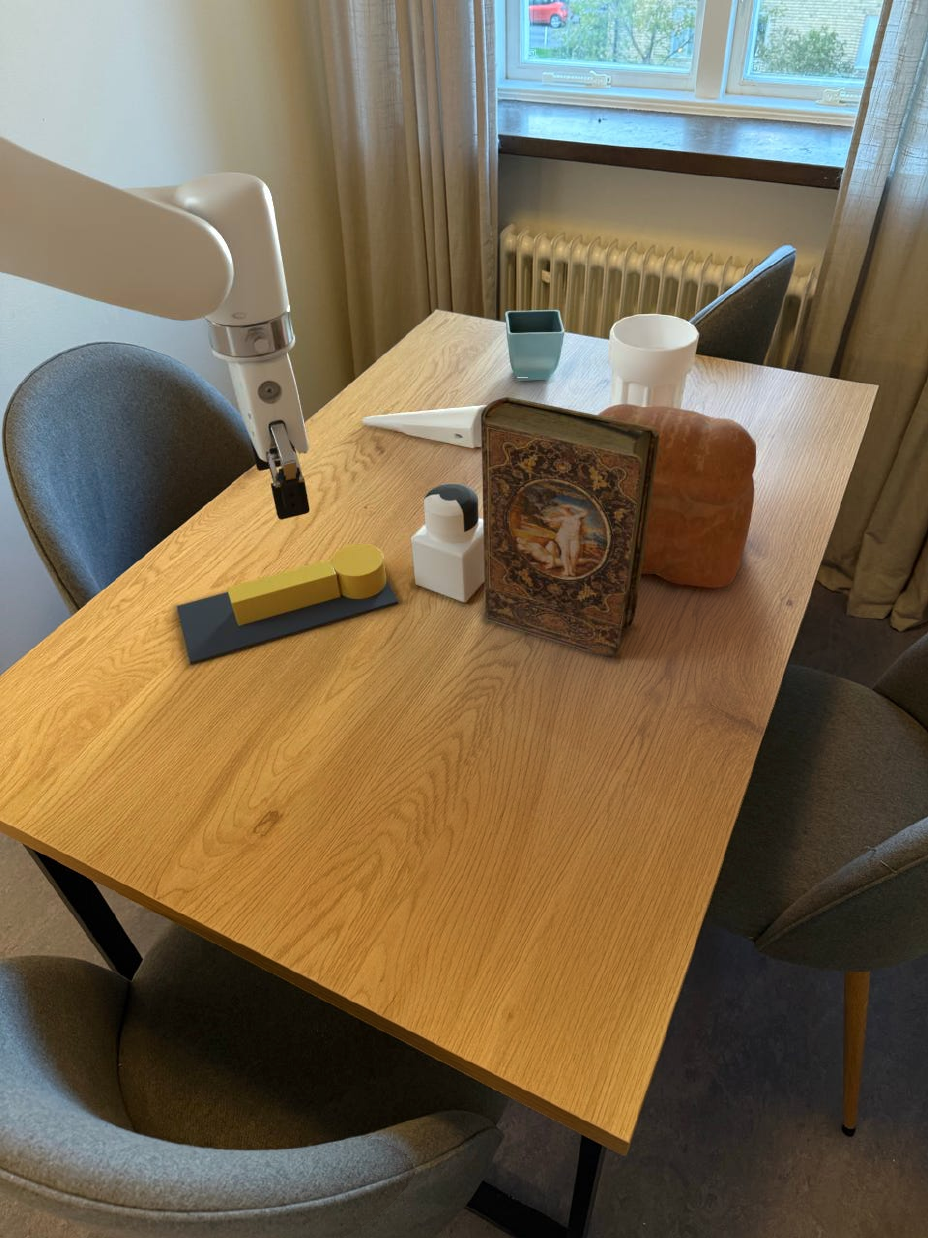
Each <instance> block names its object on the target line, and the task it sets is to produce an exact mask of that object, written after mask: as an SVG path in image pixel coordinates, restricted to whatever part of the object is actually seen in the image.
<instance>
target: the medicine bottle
mask: <svg viewBox="0 0 928 1238" xmlns="http://www.w3.org/2000/svg"><path fill="white" fill-rule="evenodd" d="M423 510H424V521H425V523H424V524H423V525H422V526H421V527H420V528H419V529H418V530H417V531H416V532H415V533H414V534H413V535H412V536H411V538H410V545H411V556H412V565H413V576H414V583H415V585H416V586H418V587H421V588H424V589H427V590H428V591H432V592H435V593H437V594H440V595H442V596H444V597H447V598H450V599H453V600H456V601H458V602H462V603H466V602H468V601H469V600H470V598H472V596H473V595H474V594H475V593H476V592H477V591H478V590H479V588H480V587H481V586H482V585H483V584H484V583H485V575H484V530H483V518H480V515H479V514H480V513H479V512H480V511H479V496H478V494H477V493H476V491H474V489H472V488H471V487H469V486H467V485H465V484H461V483H454V482H453V483H452V482H451V483H443V484H439V485H437V486H435V487H433V488H432V489H430V490H429V491H428V492H427V493H426V494H425V496H424V497H423Z"/></svg>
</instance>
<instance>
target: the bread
mask: <svg viewBox="0 0 928 1238" xmlns="http://www.w3.org/2000/svg"><path fill="white" fill-rule="evenodd" d="M597 415H598V416H603V417H608V418H613V419H617V420H622V421H627V422H632V423H637V424H642V425H647V426H652V427H655V428H656V429H657V430H658V432H659V445H658V453H657V460H656V467H655V475H654V482H653V489H652V497H651V504H650V511H649V519H648V526H647V533H646V541H645V548H644V555H643V563H642V570H641V575H657V576H658V577H660V578H662V579H664V580H665V581H667V582H669V583H670V584H671V583H672V584H679V585H686V586H693V587H702V588H709V589H716V588H721V587H725V586H729V585H730V584H731V583H732V582H733V581H734V579H735V577H736V574H737V572H738V569H739V567H740V564H741V561H742V559H743V555H744V552H745V547H746V543H747V539H748V535H749V530H750V527H751V522H752V516H753V510H754V509H753V508H754V502H755V501H754V500H755V480H754V476H753V475H754V472H755V469H756V466H757V444H756V441H755V440H754V438H753V436H752V435H751V433H749V432H748V430H747V429H746V428H744V427H743V426H742V424H740V423H738V422H736V421H735V420H733V419H730V418H723V417H713V416H709V415H706V414H704V413H700V412H697V411H695V410H688V409H683V408H680V409H677V408H671V407H656V406H654V407H639V406H635V405H630V404H620V405H615V406H612V407H610V406H608V407H607V408H605V409H604V410H602V411H600V412H599V413H598V414H597Z"/></svg>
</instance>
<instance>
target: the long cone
mask: <svg viewBox="0 0 928 1238" xmlns="http://www.w3.org/2000/svg"><path fill="white" fill-rule="evenodd" d="M487 406H488V405H487V404H482V405H471V406H470V405H469V406H461V407H450V408H440V409H431V410H430V409H429V410H420V411H409V412H400V413H398V412H397V413H389V414H378V415H370V416H366V417H363V418H362V419H361V423H362V424H364V425H365V426H368V427H373V428H377V429H378V428H379V429H383V430H389V431H394V432H398V433H403V434H404V435H406V436H410V437H411V436H412V437H417V438H420V439H421V438H422V439H426V440H431V441H436V442H441V443H445V444H451V445H456V446H460V447H464V448H465V447H466V448H470V449H475V448H482V439H481V414H482V411H483V410H484V409H485V407H487Z"/></svg>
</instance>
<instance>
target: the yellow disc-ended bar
mask: <svg viewBox="0 0 928 1238" xmlns="http://www.w3.org/2000/svg"><path fill="white" fill-rule="evenodd" d="M331 563H332V564H331ZM386 573H387V572H386V565H385V557H384V554H383V552H382V550H381V549H379V548H378V547H377V546H375V545H372V544H369V543H368V544H367V543H354V544H350V545H347V546H344V547H342V548H340V549H339V550H338V551H336V552H335V554H334V555H333V557H332V559H331V560H330V559H324V560H321V561H318V562H314V563H310V564H307V565H304V566H299V567H296V568H293V569H289V570H286V571H281V572H278V573H274V574H270V575H267V576H263V577H260V578H255V579H252V580H249V581H244V582H241V583H238V584H234V585H230V586H227V587H226V590H227V592H228V593H229V597H230V600H231V603H232V607H233V610H234V613H235V616H236V620H237V623H238V626H240V625H244V624H247V623H251V622H254V621H258V620H261V619H265V618H268V617H272V616H275V615H279V614H282V613H286V612H289V611H293V610H296V609H300V608H303V607H307V606H310V605H314V604H317V603H320V602H324V601H327V600H331V599H334V598H338V597H340V593H341V594H342V595H343V596H345V597H348V598H352V599H364V598H369V597H372V596H374V595H376V594H378V593H379V592H380V591H381V590H382V589H383V588H384V587H385V585H386V579H387V574H386Z"/></svg>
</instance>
